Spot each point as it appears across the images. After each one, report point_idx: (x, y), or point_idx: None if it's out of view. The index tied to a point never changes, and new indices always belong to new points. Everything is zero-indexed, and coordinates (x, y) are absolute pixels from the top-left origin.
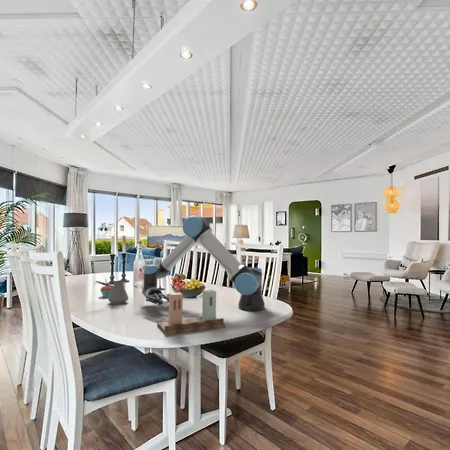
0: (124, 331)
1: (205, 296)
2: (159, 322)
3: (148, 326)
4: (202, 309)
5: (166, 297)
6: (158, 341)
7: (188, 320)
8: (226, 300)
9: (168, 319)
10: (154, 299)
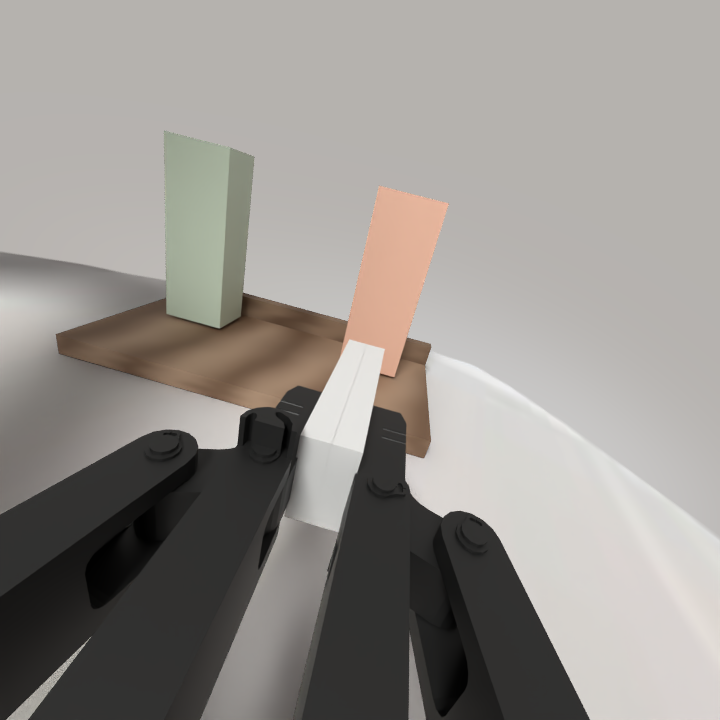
0: (618, 496)
1: (249, 183)
2: (417, 435)
3: (480, 483)
4: (223, 267)
5: (151, 488)
6: (454, 361)
7: (249, 368)
8: None
9: (402, 350)
10: (495, 556)
